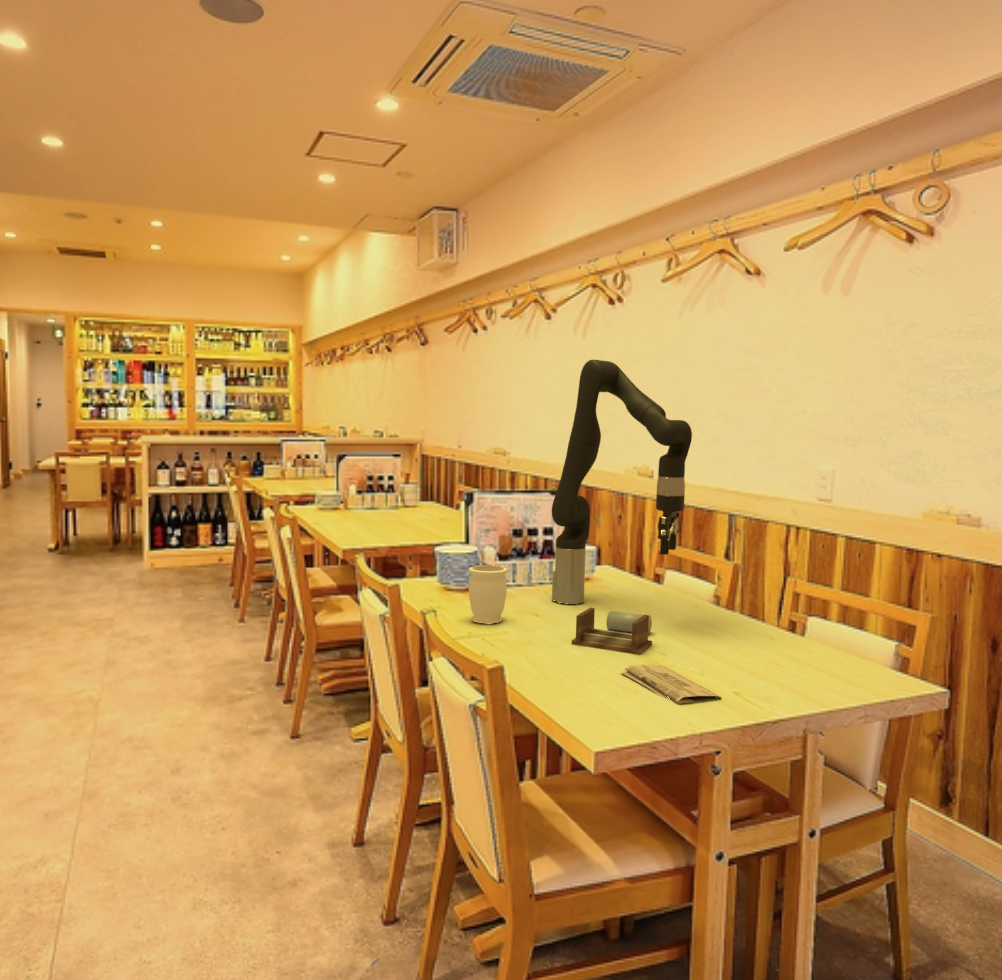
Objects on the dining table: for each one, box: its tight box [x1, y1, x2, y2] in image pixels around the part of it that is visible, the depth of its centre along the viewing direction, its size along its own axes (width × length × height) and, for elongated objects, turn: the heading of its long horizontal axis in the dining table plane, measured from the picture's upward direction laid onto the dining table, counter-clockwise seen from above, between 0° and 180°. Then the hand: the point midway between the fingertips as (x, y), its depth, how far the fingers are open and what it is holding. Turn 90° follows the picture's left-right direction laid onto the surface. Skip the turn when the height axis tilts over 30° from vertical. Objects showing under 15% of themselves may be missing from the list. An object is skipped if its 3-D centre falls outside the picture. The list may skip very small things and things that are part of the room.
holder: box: [571, 607, 653, 656], centre depth 203 cm, size 18×10×8 cm, turn 63°
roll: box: [606, 610, 653, 636], centre depth 215 cm, size 11×5×5 cm, turn 63°
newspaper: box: [620, 664, 723, 705], centre depth 172 cm, size 23×12×2 cm, turn 20°
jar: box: [468, 565, 508, 624], centre depth 223 cm, size 11×10×15 cm
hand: (668, 551), depth 219 cm, fingers open, 8 cm apart
